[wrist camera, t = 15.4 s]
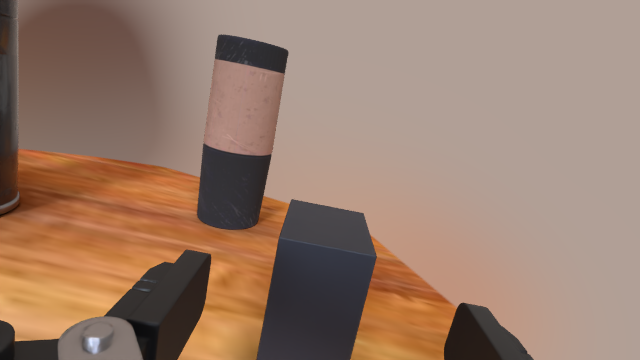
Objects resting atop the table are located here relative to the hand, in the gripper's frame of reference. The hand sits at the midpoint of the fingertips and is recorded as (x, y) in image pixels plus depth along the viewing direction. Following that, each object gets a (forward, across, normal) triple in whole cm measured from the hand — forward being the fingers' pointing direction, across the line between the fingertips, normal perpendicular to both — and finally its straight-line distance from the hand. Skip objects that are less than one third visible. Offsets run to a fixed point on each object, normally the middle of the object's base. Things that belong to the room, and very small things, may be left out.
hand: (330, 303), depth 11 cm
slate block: (+8, 0, +10) cm, 13 cm away
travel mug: (+31, +10, +11) cm, 34 cm away
